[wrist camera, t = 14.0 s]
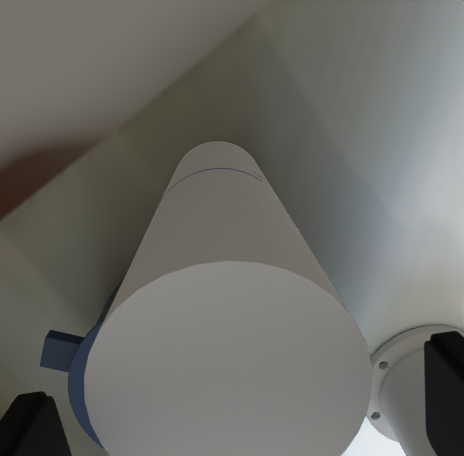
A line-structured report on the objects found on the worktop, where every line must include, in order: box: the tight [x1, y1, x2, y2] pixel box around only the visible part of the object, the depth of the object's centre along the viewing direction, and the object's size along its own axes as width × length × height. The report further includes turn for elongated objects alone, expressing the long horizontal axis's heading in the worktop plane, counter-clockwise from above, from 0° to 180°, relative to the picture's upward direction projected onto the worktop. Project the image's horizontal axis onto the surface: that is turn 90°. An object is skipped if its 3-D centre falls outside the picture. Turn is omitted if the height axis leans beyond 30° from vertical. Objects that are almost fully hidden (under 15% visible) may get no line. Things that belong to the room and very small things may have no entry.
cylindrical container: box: [84, 141, 372, 456], centre depth 23 cm, size 7×7×25 cm
